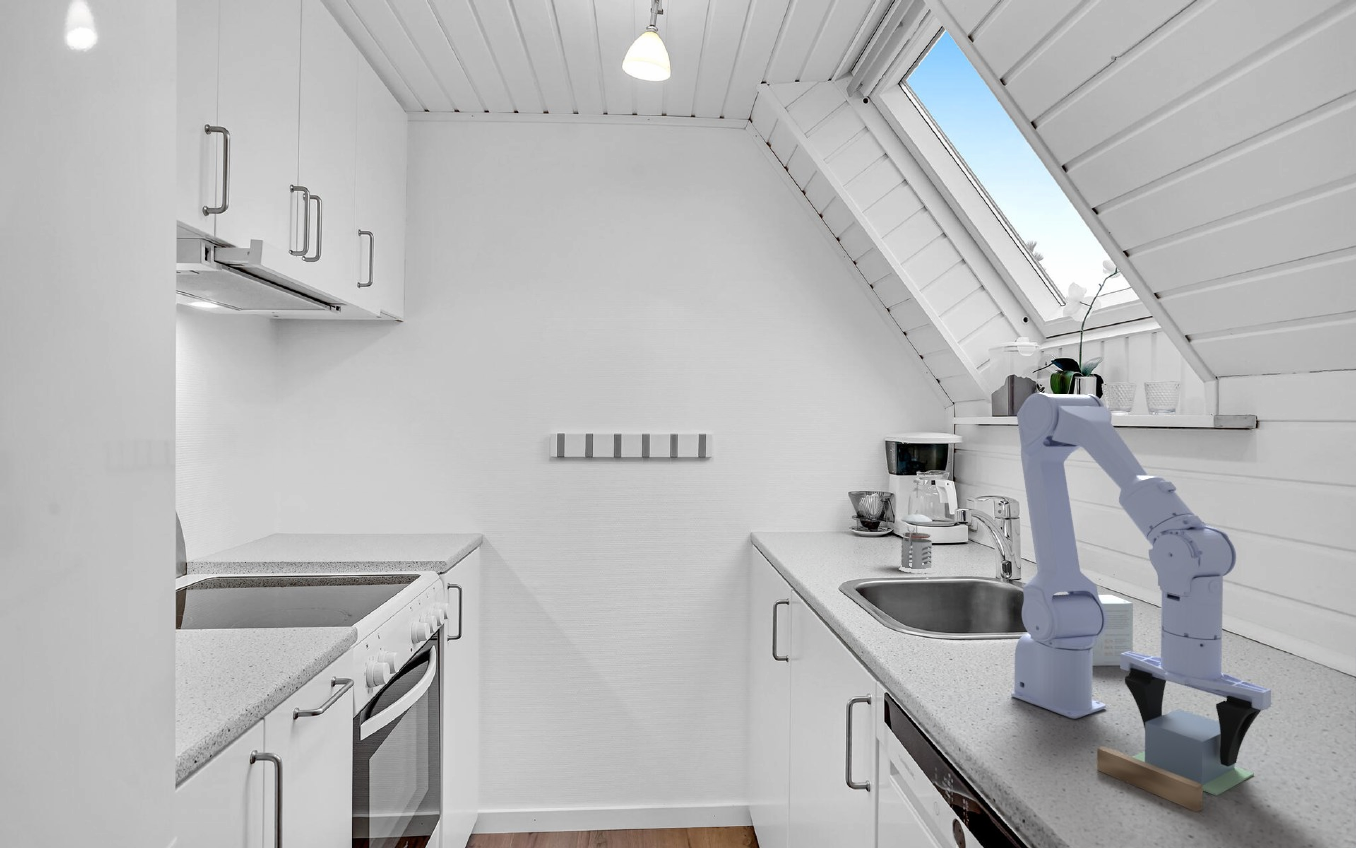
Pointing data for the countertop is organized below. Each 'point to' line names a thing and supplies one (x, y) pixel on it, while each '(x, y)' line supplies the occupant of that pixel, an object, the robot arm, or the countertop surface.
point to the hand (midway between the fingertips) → (1189, 749)
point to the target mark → (1218, 778)
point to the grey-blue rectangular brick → (1185, 746)
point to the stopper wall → (1150, 778)
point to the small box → (1114, 632)
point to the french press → (916, 542)
